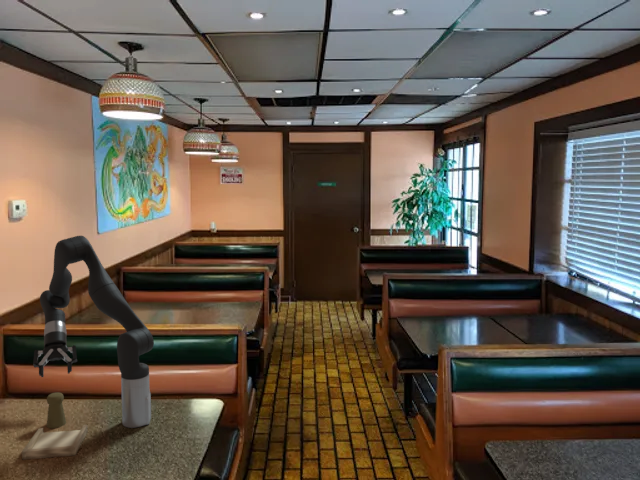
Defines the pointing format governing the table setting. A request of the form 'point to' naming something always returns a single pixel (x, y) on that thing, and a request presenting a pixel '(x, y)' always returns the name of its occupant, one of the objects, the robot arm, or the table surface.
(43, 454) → the beige square tray
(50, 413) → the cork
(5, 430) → the table surface
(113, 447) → the table surface
